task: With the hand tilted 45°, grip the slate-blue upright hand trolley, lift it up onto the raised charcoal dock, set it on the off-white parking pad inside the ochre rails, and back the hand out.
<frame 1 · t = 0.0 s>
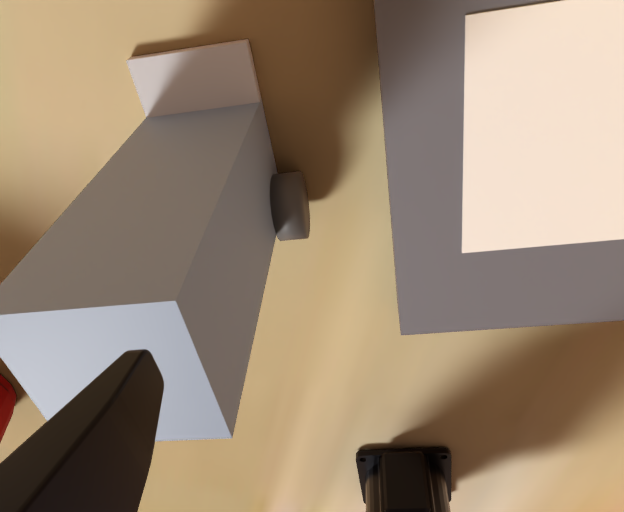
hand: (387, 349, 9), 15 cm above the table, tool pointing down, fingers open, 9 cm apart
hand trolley: (219, 159, 23), on the table
dock: (550, 140, 22), on the table
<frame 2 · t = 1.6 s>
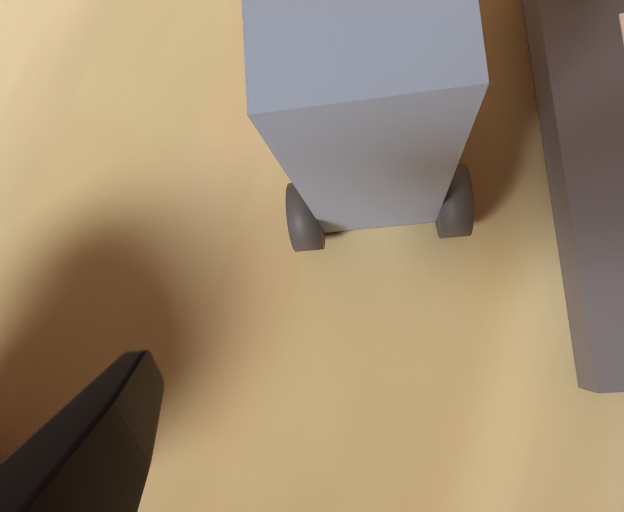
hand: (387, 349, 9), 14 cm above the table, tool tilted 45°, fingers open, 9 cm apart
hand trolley: (374, 174, 24), on the table
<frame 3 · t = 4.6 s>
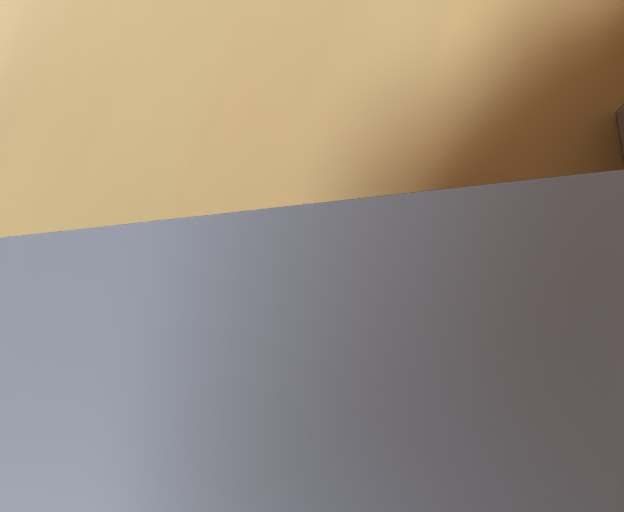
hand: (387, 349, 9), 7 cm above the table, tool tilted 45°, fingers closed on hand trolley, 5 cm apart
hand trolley: (394, 391, 15), on the table, touching gripper
when the fingers open (9 cm above the table, at t = 8.5 s): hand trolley stays where it is, resting on dock.
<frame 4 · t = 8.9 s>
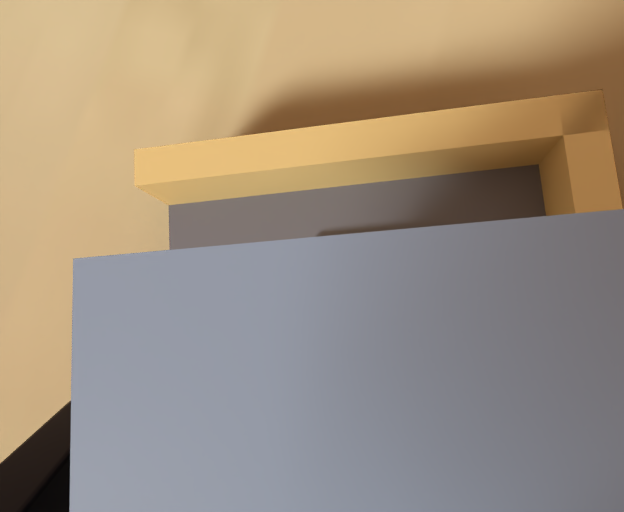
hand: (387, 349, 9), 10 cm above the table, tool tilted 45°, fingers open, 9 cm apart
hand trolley: (394, 388, 16), point 2 cm above the table, touching dock
dock: (382, 410, 18), on the table
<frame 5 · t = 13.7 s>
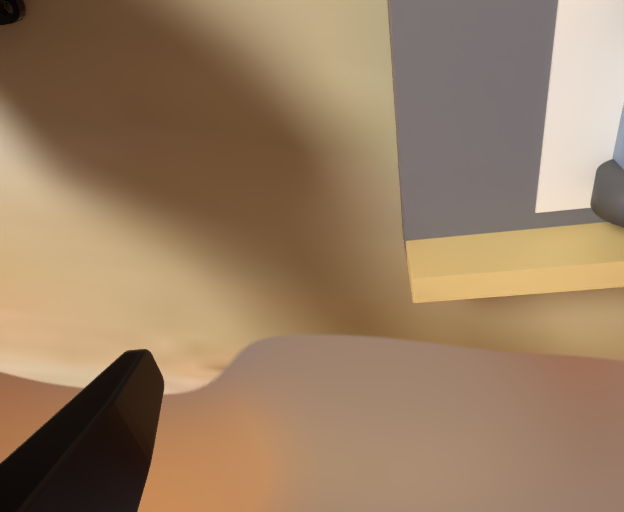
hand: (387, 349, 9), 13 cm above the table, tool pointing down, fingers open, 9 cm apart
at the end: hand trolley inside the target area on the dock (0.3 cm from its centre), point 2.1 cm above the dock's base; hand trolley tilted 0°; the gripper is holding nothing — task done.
